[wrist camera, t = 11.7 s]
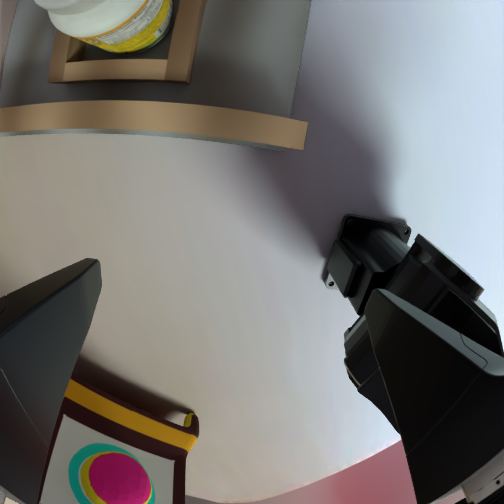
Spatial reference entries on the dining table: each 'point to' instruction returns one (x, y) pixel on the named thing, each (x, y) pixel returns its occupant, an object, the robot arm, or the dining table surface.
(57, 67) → the board
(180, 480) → the decorative lantern
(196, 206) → the dining table surface
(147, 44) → the supplement bottle
